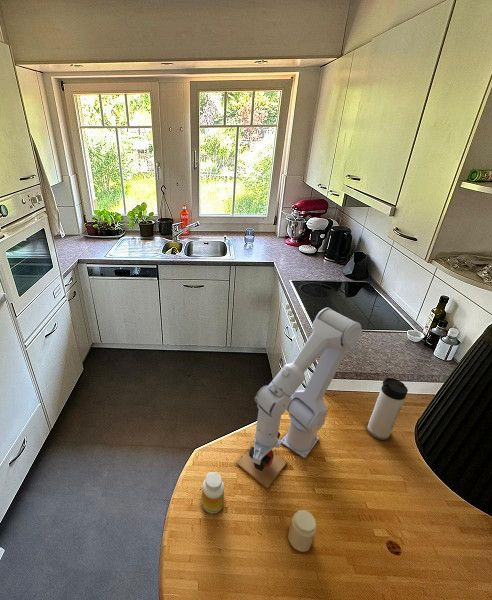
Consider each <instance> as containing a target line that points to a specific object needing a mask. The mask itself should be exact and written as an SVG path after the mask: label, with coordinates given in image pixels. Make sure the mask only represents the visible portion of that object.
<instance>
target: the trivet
mask: <svg viewBox="0 0 492 600" xmlns="http://www.w3.org/2000/svg"><path fill="white" fill-rule="evenodd" d="M252 447H254V445H253V446H252ZM249 451H250V449H249V450H248V451H247V452H246V453H245V454H244V455H243V456H242V457H241V458H240V460H239V461H238V462H237V463H236V465H237V466H239V467H240V468H241V469H242V470H243V471H244V472H246V473H247V474H248V475H249V476H251V477H252V478H253V479H255V480H256V481H257V482H259V483H260V484H261V485H262V486H264V488H266V489H268V488H269V487H270V486H271V485H272V483H273V482H274V480H275V479H276V478H277V476H279V474H280V473H281V472H282V470H283V469H284V467H286V465H287V461H285V460H284V459H282V457H280V456H278V455H277V454H275V453H274V452H273V454H274V458H273V462H272V464H271V465H270V466H267V467H264V469H263V470H262V471H260V470H258V469H256V468H255V466H254V462H252V460H253V459H252V458H251V457H250V456H249Z"/></svg>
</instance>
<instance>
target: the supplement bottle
mask: <svg viewBox="0 0 492 600" xmlns="http://www.w3.org/2000/svg"><path fill="white" fill-rule="evenodd" d="M222 478H223V477H222V476H221V475H220V473H218V472H216V471H211V472H208V473H207V474H206V476H205V479H204V480H203V482H202V488H201V489H202V491H201V504H202V507H203V509H204V510H205V511H206V512H207V513H209V514H216V513H219V512H220V511H221V510H222V508H223V506H224V499H225V498H224V497H225V484H224V482H223V479H222Z"/></svg>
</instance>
